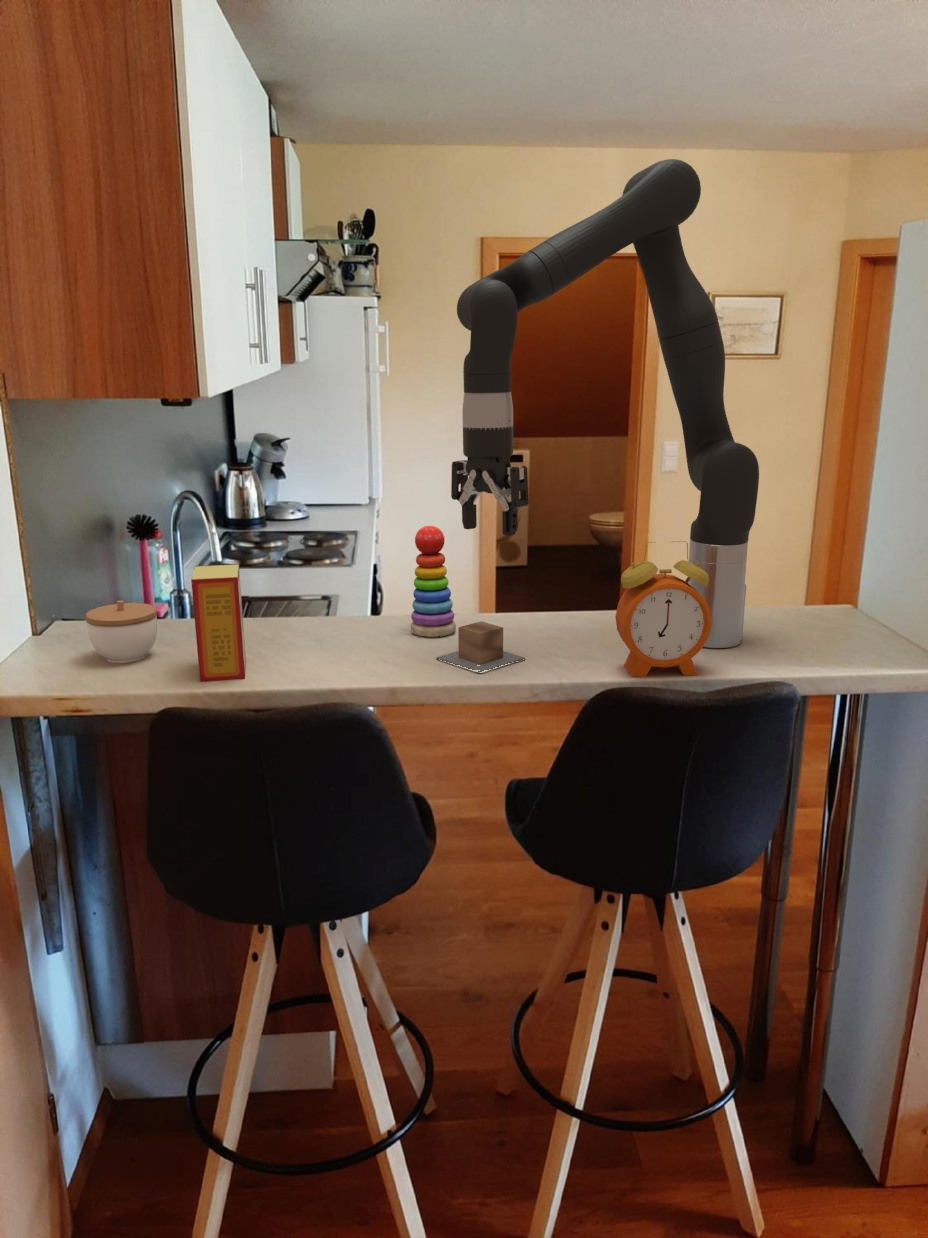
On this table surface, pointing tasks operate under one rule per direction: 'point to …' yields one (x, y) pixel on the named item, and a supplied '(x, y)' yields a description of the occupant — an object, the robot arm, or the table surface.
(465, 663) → the mat
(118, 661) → the lidded jar
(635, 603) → the alarm clock
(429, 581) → the stacking toy
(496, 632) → the cube
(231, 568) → the baking soda box
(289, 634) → the table surface
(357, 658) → the table surface
